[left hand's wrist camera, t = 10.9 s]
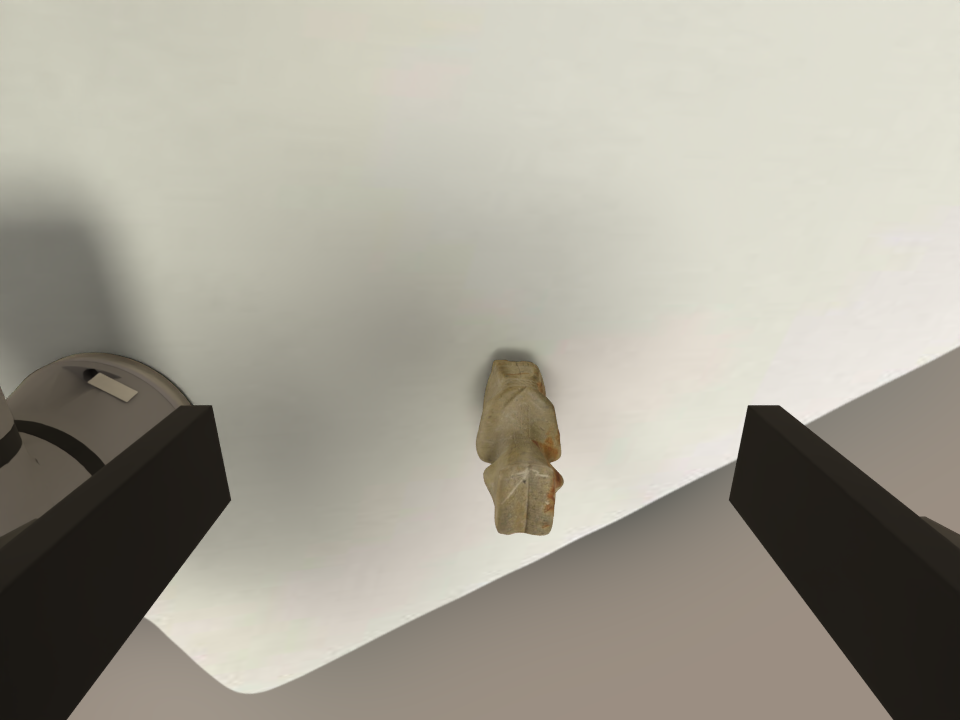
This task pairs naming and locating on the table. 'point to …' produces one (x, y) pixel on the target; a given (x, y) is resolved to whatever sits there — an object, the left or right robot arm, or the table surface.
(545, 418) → the sculpture
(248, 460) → the table surface
